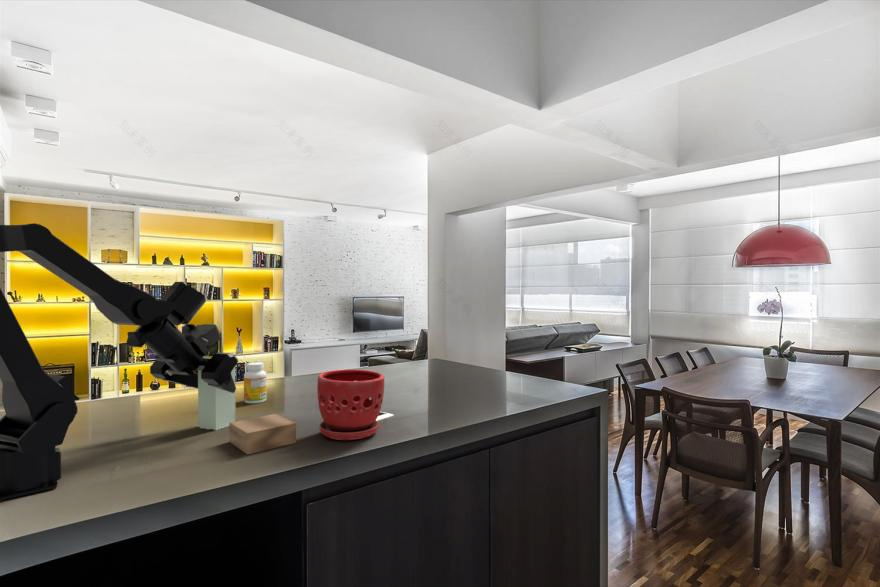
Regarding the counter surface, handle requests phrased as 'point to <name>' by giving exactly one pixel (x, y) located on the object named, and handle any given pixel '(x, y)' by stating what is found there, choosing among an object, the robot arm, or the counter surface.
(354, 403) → the plant pot
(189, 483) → the counter surface
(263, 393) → the supplement bottle
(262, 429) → the tan block
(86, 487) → the counter surface
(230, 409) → the sage block
